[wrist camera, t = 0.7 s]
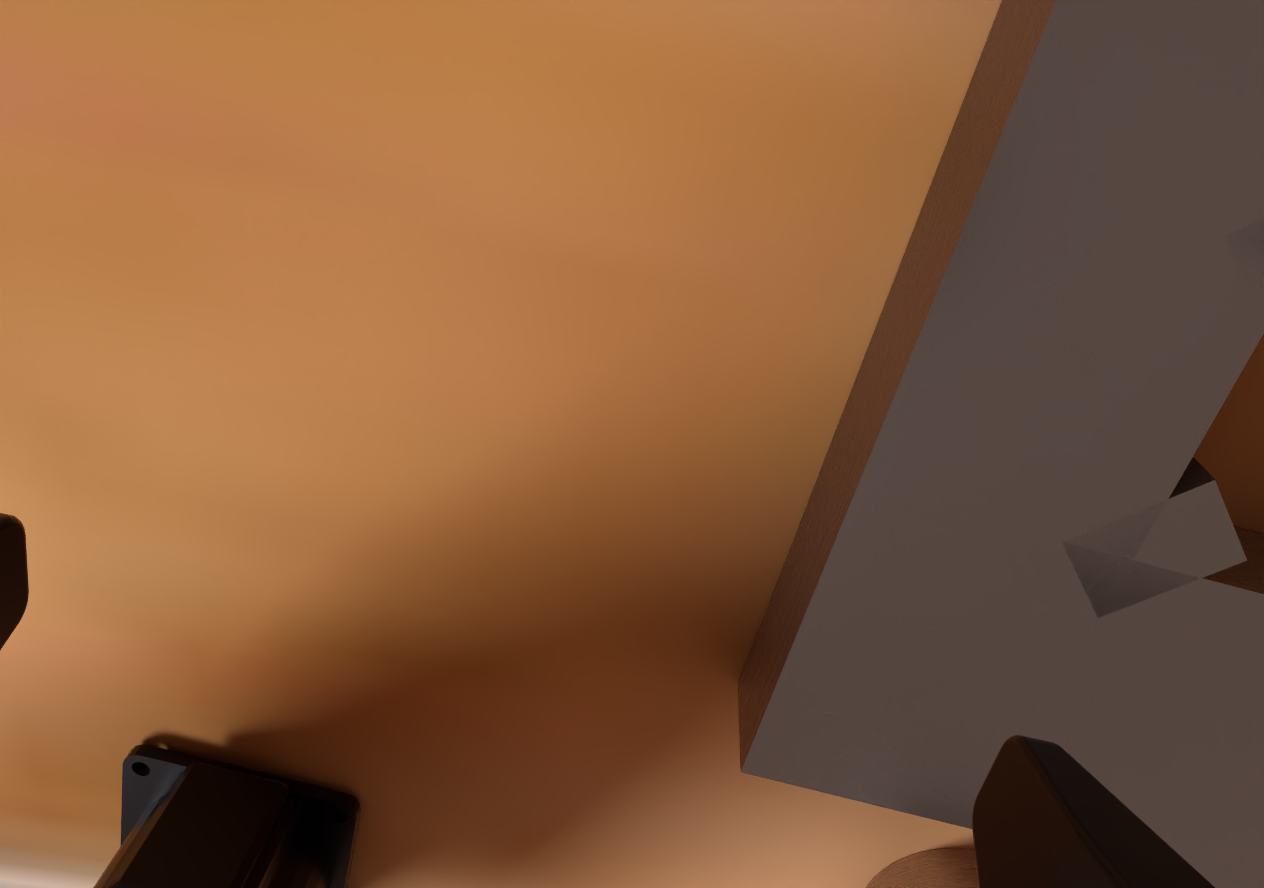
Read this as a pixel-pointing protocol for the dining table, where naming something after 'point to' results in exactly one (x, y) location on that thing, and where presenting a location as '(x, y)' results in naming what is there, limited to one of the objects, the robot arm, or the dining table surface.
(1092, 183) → the duct plate
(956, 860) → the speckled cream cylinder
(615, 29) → the dining table surface
